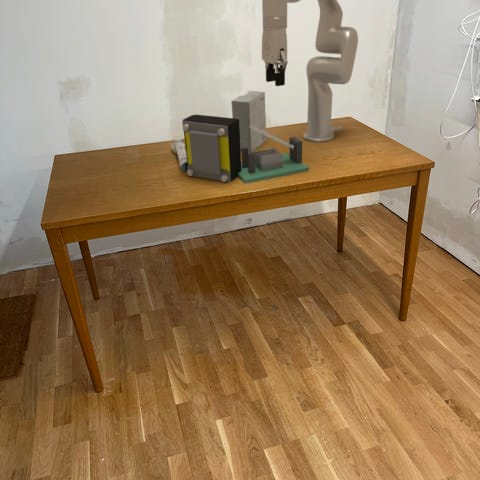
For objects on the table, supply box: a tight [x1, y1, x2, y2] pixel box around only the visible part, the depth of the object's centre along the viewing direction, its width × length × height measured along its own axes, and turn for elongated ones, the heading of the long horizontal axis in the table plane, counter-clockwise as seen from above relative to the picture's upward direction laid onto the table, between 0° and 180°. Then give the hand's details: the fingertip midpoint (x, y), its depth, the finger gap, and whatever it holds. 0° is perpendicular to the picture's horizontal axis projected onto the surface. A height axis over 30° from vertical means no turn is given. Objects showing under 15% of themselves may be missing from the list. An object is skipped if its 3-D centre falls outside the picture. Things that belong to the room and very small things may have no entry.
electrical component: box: [181, 114, 242, 183], centre depth 159 cm, size 18×10×20 cm, turn 62°
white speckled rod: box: [171, 135, 188, 172], centre depth 177 cm, size 5×7×25 cm
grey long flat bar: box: [249, 124, 295, 150], centre depth 161 cm, size 18×4×1 cm
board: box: [237, 136, 309, 184], centre depth 164 cm, size 24×16×9 cm, turn 111°
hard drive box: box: [230, 90, 267, 153], centre depth 183 cm, size 16×8×20 cm, turn 154°
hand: (275, 82), depth 152 cm, fingers open, 6 cm apart
